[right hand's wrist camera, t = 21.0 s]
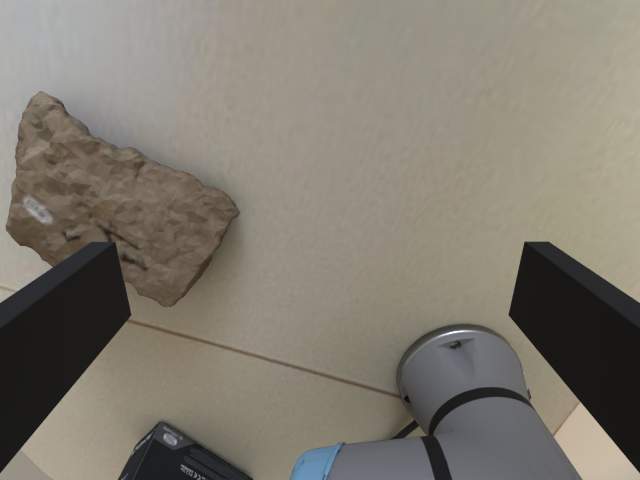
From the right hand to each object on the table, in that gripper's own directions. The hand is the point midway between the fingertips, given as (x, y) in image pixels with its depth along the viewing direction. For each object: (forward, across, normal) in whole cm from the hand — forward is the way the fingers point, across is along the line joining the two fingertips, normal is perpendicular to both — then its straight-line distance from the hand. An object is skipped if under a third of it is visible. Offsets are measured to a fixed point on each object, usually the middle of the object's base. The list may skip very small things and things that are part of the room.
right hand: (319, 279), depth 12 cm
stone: (+28, +20, +6) cm, 35 cm away
